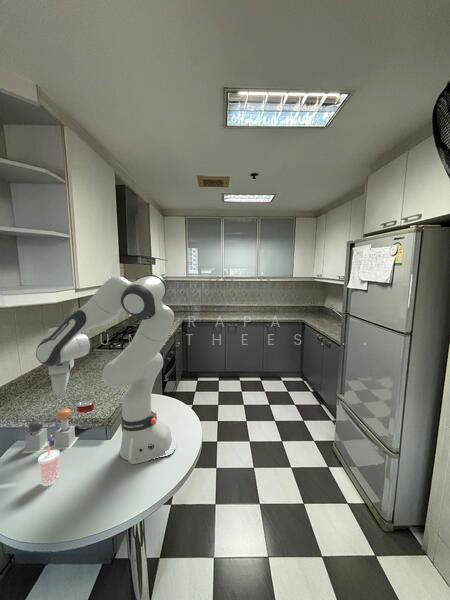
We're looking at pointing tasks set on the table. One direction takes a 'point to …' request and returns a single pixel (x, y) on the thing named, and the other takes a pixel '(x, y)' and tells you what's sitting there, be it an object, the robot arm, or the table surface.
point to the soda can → (85, 406)
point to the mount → (40, 440)
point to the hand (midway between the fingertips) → (62, 396)
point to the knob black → (35, 426)
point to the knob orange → (64, 418)
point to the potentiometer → (51, 441)
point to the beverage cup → (49, 466)
